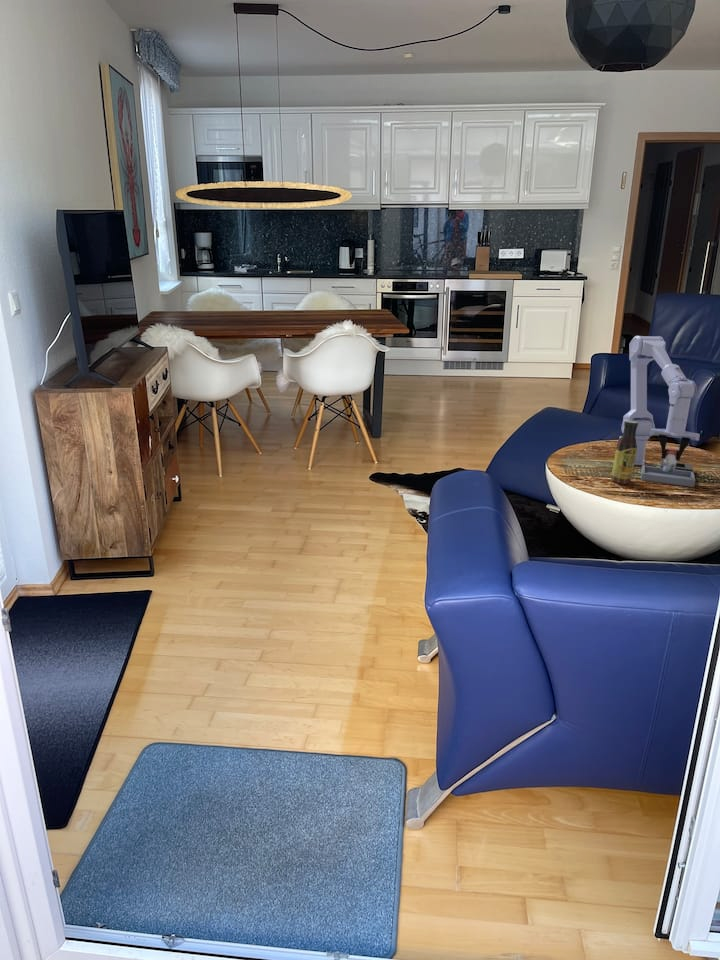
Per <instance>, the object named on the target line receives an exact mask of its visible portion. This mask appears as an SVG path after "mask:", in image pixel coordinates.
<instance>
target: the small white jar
mask: <svg viewBox="0 0 720 960" xmlns="http://www.w3.org/2000/svg"><path fill="white" fill-rule="evenodd" d="M678 451H679V449H676V448H671V447H669V448H668V447H667V448H666V447H665V456H664V459H662V460H663V466H662V470H663V471H666V472H675V468H676V463H677V462H678V461H677V457H678Z"/></svg>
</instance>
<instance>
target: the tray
mask: <svg viewBox="0 0 720 960" xmlns="http://www.w3.org/2000/svg"><path fill="white" fill-rule="evenodd" d="M695 477H696V476H695V474H694V471H693V472H690V471H683V470H675V472H666V471H663V470H662V468H660V466H653V465H652V466H650V465H641V470H640V480H641V481H646V482H652V483H653V482H655V483H661V484H668V485H674V486H675V485H676V486H683V487H691V488H694V487H695V484H696V478H695Z"/></svg>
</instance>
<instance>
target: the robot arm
mask: <svg viewBox="0 0 720 960" xmlns="http://www.w3.org/2000/svg"><path fill="white" fill-rule="evenodd" d="M666 343H667V342H666V341H665V340H664V338H663V337H662V336H660V335H657V336H649V335H648V336H643V335H635V336H634V337H633V338H632V339H631V341H630V342H629V345H628V346H629V348H628V349H629V350H628V351H629V354H628V356H629V357H628V359H629V361H630V410H629V411H628V412H627V413H625V414H624V415H623V416H622V417H623V418H622V423H621V433H622V434H623V431H624V422H625V421H627V420H628V421H636V422H638V427H637V429H636V436H635V437H636V444H637V452H636V458H635V463H634V466H642V465H644V466H646V465H645V464H646V463H645V462H646V461H645V455H646V449H647V443H648V440H649V439H650V437H652V436H658V440H659V441H658V442H659V445H660V447H661V460H664V456H665V449H666V446H667V441H668V438H674V439H675V438H676V439H680V441H679V446H678V450H679V451H678V457H677V462H679V461H680V460H681V458H682V455H683V452H684V451H685V449H686V448H687V446H688V445H689V444H690V441H691V440H693V441H698V442H699V441H700V437H701V435H700V433H696V432H691V431H686V428H687V422H688V417H689V411H690V405H691V401H692V399H694V398H695V397H696V395H697V389H698V388H697V385H696V382H695V381H694V380H690V379H689V378H687V377H686V375H685V374H684V372H683V371H682V369H681V367H680V365H678V364H676V363H673V362H672V360H671V358H670V356H669V354H668V352H667V350H666ZM653 361H655V363H656V364H657V365H658V366H659V367H660V369H661V374H660V375H661V377H662V378H663V380H664V382H665V383H666V385H667V386H668V389H667V391H668V397H669V400H668V401H669V402H668V403H669V404H670V405H669V408H668V409H669V410H668V416H667V422H666V427H665V428H656V425H655V422H654V415H653V414H652V413H650V411H648V392H647V391H648V384H647V383H648V365H649V363H650V362H653ZM621 437H622V435H620V436H619V439H620V438H621Z"/></svg>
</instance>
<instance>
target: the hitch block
mask: <svg viewBox="0 0 720 960" xmlns="http://www.w3.org/2000/svg"><path fill="white" fill-rule="evenodd" d="M663 460H664V459H661V460H660V462H659V463H660V464H659V467H660V468H662V466H663ZM675 470H683V471H690V472H694V466H693V463H687V462H679V461H677V463H676V468H675Z"/></svg>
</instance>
